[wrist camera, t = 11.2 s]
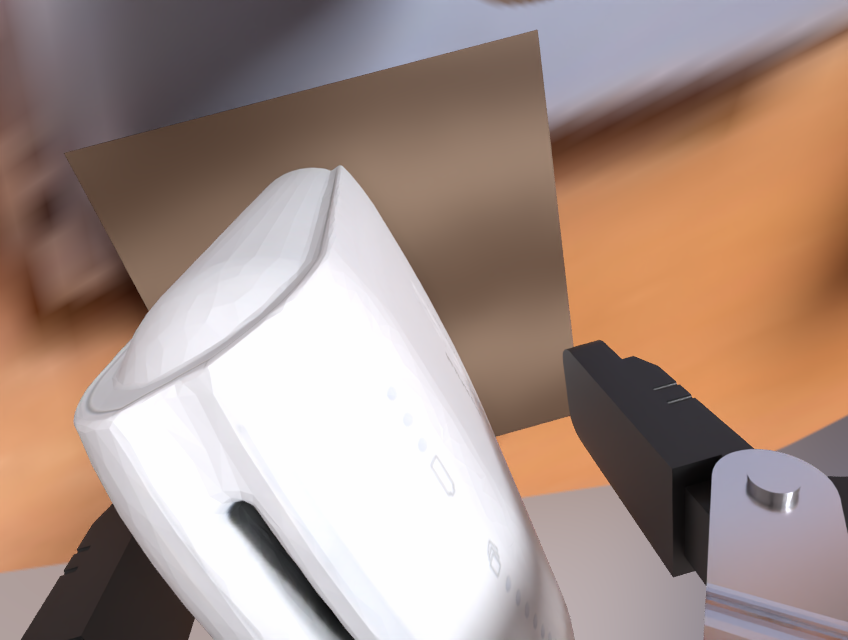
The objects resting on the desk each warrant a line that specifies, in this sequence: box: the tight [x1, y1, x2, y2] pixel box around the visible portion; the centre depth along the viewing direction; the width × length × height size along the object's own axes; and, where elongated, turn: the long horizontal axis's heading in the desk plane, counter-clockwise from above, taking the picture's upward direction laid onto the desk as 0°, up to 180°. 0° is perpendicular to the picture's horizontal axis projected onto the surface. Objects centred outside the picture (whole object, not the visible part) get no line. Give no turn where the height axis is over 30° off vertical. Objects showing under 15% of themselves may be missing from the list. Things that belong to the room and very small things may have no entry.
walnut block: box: [64, 30, 574, 437], centre depth 18 cm, size 14×14×4 cm
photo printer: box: [74, 165, 575, 640], centre depth 11 cm, size 10×4×12 cm, turn 27°
